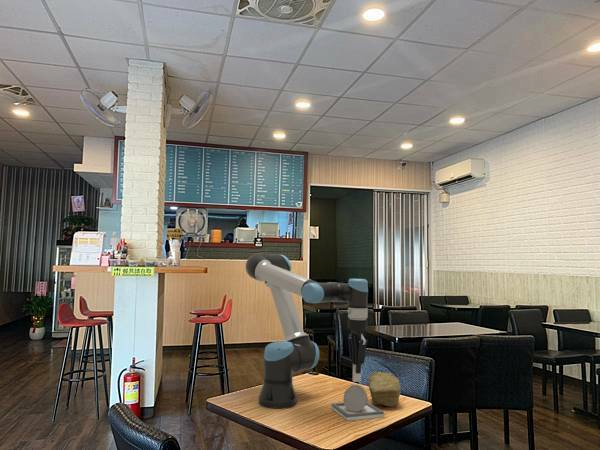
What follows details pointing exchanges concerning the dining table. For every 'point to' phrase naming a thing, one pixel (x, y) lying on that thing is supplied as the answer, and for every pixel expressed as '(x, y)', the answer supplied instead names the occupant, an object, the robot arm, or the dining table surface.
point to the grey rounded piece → (355, 398)
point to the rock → (384, 389)
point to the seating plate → (365, 413)
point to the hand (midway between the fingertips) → (356, 381)
